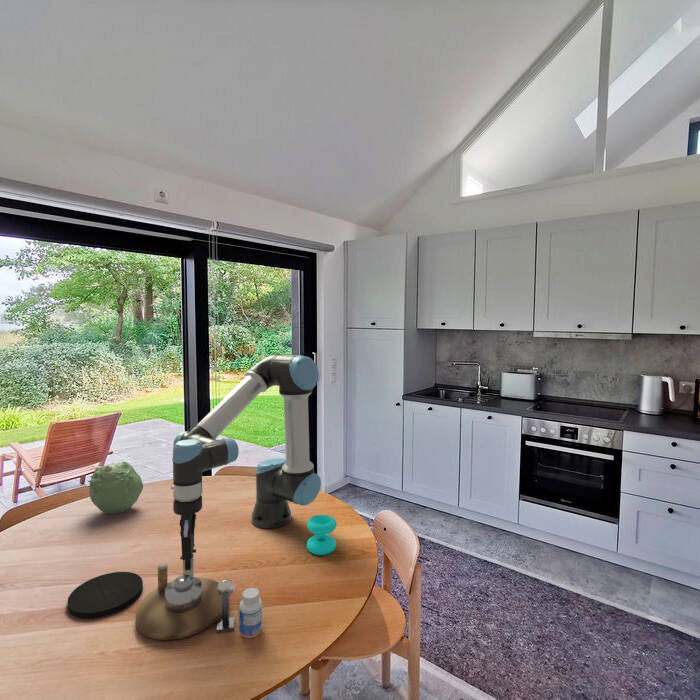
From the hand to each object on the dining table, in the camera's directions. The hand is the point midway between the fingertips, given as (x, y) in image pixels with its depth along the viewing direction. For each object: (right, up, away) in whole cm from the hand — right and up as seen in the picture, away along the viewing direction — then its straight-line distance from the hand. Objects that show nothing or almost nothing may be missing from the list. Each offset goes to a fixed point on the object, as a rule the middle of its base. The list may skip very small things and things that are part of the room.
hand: (188, 578), depth 119 cm
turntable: (+2, -4, -9) cm, 10 cm away
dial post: (+14, -5, -14) cm, 20 cm away
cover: (+2, -2, -8) cm, 9 cm away
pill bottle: (+21, -5, -15) cm, 26 cm away
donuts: (+36, -3, +24) cm, 43 cm away
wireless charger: (-21, -4, -3) cm, 22 cm away
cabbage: (-47, 0, +48) cm, 67 cm away
